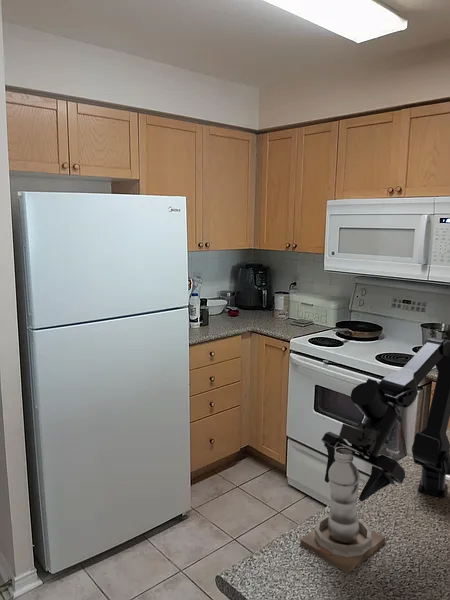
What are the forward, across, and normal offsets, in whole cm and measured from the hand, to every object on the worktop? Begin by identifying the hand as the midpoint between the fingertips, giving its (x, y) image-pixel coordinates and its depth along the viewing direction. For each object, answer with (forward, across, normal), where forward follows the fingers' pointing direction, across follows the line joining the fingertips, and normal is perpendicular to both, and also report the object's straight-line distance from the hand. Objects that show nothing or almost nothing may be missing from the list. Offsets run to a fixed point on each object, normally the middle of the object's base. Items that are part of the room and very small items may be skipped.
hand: (342, 490), depth 101 cm
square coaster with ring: (+8, 0, +9) cm, 12 cm away
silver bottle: (+8, 0, +8) cm, 11 cm away
